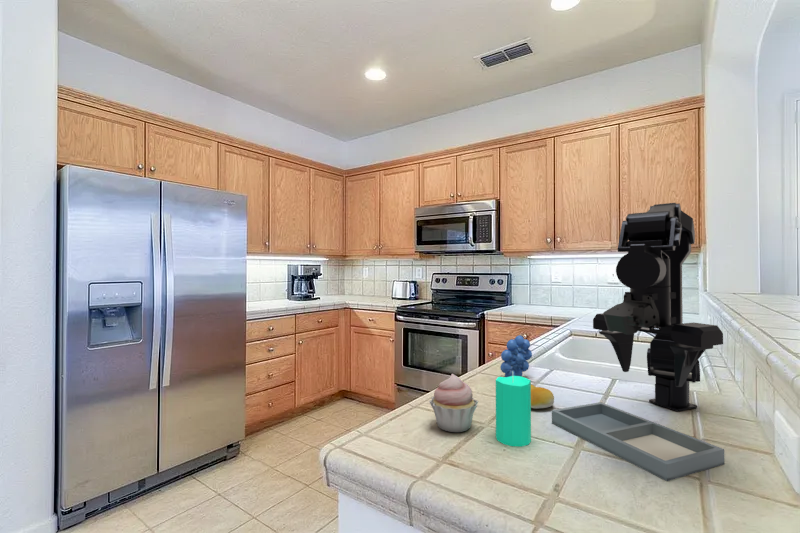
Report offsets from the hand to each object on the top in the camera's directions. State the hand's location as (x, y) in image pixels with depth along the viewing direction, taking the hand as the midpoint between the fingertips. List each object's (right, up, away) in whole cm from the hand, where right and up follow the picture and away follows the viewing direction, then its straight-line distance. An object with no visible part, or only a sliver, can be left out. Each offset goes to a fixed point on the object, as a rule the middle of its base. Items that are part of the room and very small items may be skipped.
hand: (650, 378), depth 65 cm
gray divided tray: (-3, -12, +2) cm, 12 cm away
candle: (-22, -12, +3) cm, 25 cm away
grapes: (-11, -12, +41) cm, 44 cm away
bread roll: (-9, -12, +20) cm, 25 cm away
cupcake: (-32, -12, +9) cm, 35 cm away
